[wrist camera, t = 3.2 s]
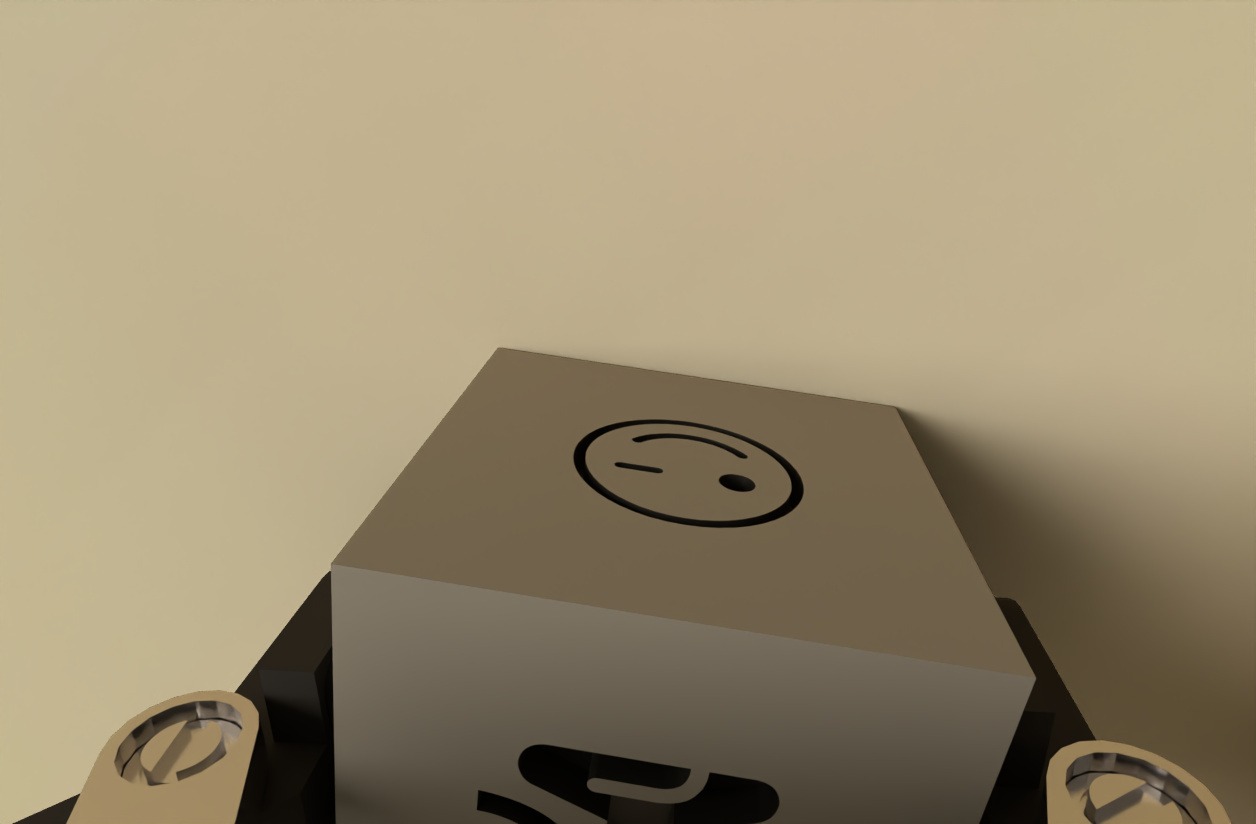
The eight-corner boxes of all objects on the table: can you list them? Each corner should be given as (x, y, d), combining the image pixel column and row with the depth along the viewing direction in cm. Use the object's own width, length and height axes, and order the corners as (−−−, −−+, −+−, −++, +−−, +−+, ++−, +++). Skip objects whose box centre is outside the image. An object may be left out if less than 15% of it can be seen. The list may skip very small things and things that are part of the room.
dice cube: (894, 407, 10) (1036, 677, 6) (811, 718, 12) (867, 1107, 8) (497, 347, 11) (330, 563, 6) (477, 663, 13) (339, 1010, 8)
